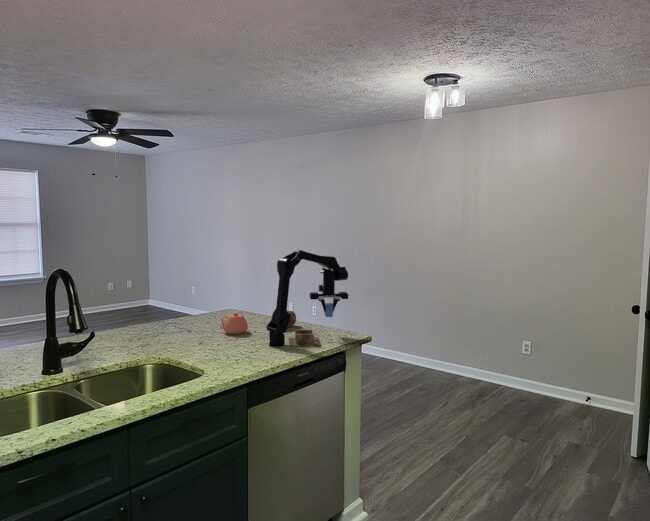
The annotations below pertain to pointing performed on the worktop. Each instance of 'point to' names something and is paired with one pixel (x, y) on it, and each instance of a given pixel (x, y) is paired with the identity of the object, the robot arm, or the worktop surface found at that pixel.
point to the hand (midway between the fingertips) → (328, 312)
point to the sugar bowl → (234, 324)
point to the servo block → (329, 309)
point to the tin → (292, 319)
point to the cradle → (304, 339)
